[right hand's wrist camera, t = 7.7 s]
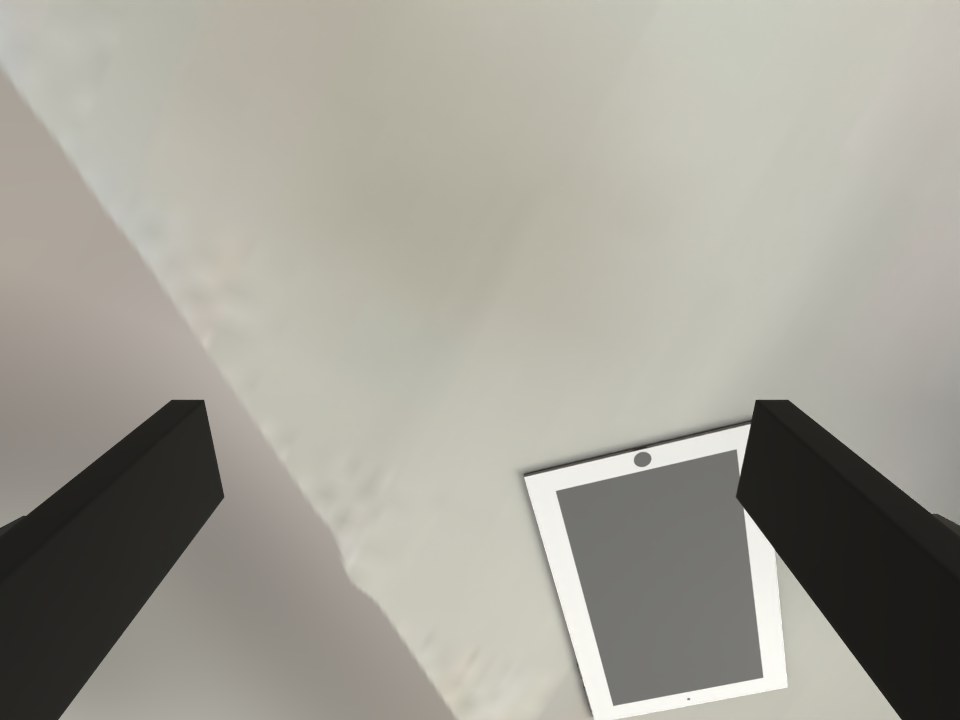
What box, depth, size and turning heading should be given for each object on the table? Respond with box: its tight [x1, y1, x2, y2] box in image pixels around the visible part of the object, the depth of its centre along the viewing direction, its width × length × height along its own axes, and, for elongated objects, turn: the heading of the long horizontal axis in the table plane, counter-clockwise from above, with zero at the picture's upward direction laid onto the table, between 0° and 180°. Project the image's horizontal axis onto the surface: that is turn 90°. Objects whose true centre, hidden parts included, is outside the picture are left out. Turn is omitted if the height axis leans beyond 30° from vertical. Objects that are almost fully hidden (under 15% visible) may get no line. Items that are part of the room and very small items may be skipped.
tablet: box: [524, 422, 788, 720], centre depth 50 cm, size 32×20×1 cm, turn 16°
